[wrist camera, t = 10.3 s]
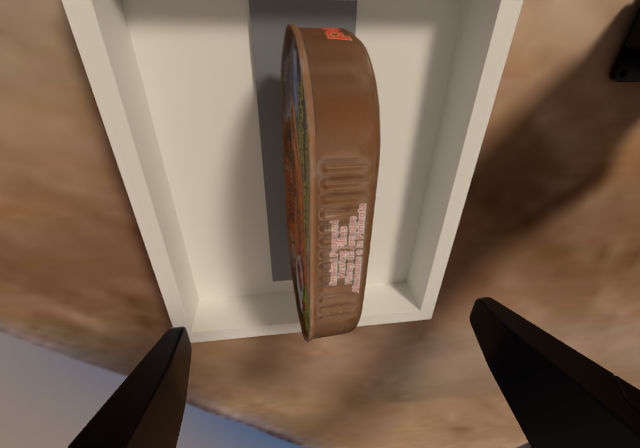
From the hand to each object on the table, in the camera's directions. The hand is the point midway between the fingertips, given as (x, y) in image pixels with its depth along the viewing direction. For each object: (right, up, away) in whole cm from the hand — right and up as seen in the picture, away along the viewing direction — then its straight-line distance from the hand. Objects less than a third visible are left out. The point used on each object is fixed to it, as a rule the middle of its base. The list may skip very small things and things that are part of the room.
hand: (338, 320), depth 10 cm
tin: (-1, +6, +10) cm, 12 cm away
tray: (-2, +7, +11) cm, 13 cm away
